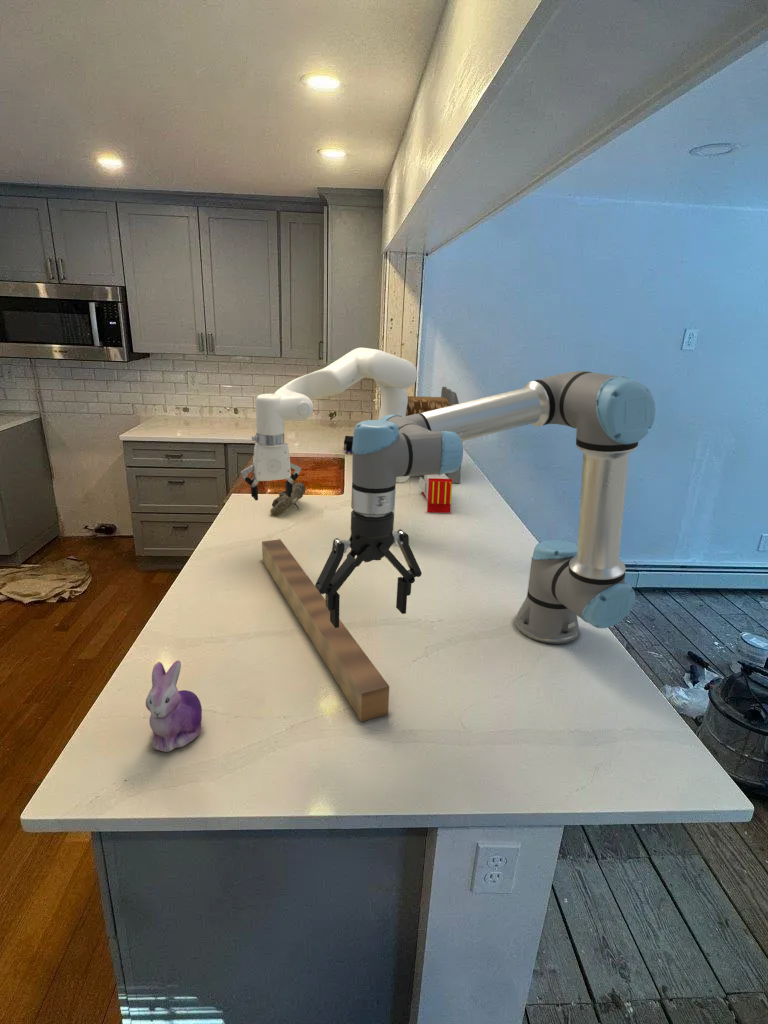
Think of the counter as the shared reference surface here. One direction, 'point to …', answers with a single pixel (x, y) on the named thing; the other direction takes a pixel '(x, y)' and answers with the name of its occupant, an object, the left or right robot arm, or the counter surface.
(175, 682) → the figurine
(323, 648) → the post
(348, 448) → the figurine character
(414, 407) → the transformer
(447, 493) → the toy
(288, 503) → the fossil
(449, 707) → the counter surface
